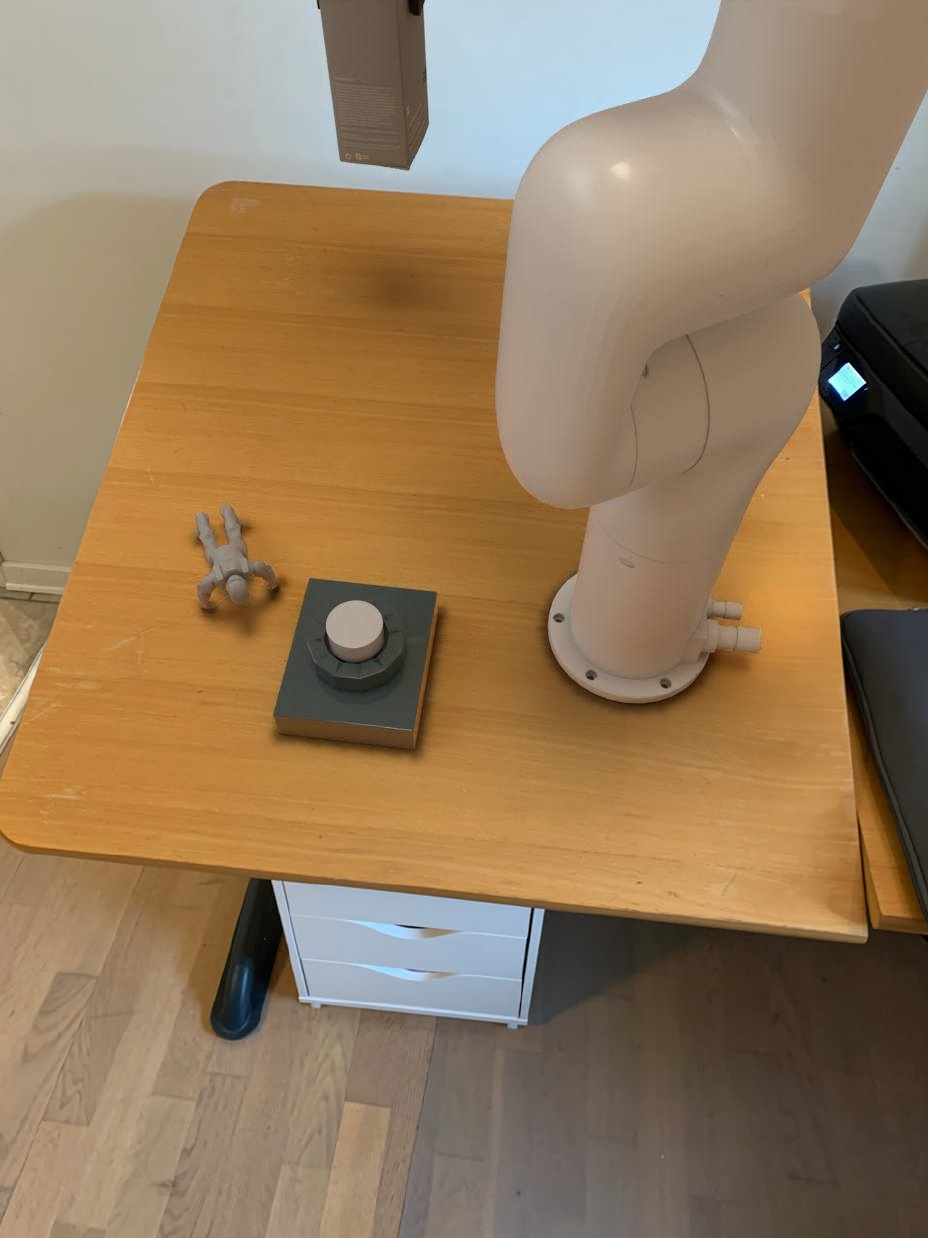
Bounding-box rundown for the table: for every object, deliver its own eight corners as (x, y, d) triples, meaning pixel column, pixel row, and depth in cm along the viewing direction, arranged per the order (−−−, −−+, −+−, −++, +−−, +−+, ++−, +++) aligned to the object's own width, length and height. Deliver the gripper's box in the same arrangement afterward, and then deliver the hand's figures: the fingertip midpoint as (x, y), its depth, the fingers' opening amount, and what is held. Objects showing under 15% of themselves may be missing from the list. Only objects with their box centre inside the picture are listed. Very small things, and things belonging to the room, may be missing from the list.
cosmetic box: (410, 174, 79) (403, -39, 66) (329, 163, 80) (307, -50, 67) (432, 122, 84) (431, -86, 71) (355, 112, 85) (340, -96, 71)
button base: (438, 612, 74) (437, 576, 70) (414, 750, 67) (412, 718, 63) (313, 599, 75) (305, 561, 70) (279, 734, 68) (267, 701, 64)
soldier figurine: (191, 568, 79) (211, 647, 70) (172, 514, 76) (189, 589, 66) (264, 547, 80) (293, 622, 71) (248, 492, 77) (276, 564, 68)
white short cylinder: (388, 619, 68) (387, 603, 66) (379, 666, 66) (377, 651, 64) (334, 613, 68) (332, 597, 67) (323, 659, 66) (320, 644, 64)
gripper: (197, -303, 57) (251, 19, 71) (481, -290, 55) (476, 35, 70) (230, -334, 61) (275, -24, 76) (495, -323, 60) (488, -10, 74)
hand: (372, 2), depth 73 cm, fingers closed on cosmetic box, 6 cm apart
